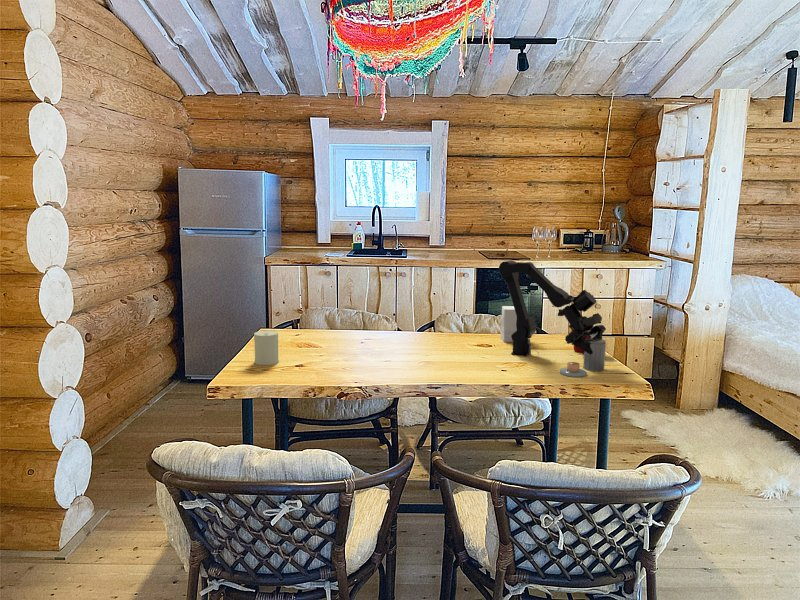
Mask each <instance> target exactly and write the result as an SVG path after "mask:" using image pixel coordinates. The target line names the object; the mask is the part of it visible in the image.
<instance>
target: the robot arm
mask: <svg viewBox="0 0 800 600" xmlns="http://www.w3.org/2000/svg"><path fill="white" fill-rule="evenodd" d="M498 271H499V274H500V276H501V278H502V280H504V282H505V283H506V285H507V288H508V292H509V294H510V298H511V301H512V306H514V309H515V312H516V316H517V321H516V328H517V331H516V332H514V333H513V334H512V335H511V337H512V340H513V342H512V352H511V353H510V355H515V356H522V357H527V356H529V355H531V352H532V343H531V338H532V337H533V335H534V334H536V332H537V327H538V325H537V323H536V319H535V316H530V314H529V312H528V309H527V306H526V302H525V299H524V296H523V292H522V289H521V286H520V283H519V276H520V273H524V274H526V275H527V276H528V277H529V278H530V279H531V280H532V281H533V282H534V283H535V284H536V285H537V286H538V287H539V288H540V289H541V290H542V291H543V293H545V295H546V297H547V300H549V302H550V304H552V306H553V307H555V308H559V309H558V313H557V317H565V319H566V320H567V322H568V328H569V329H571V328H573V330H572V331H570V332H569V333H568V334H567V335H566V336H565V337H564V338H565V339H564V340H565V342H566V343H567V344H568V345H569V344H571V345H572V346H574V345H575V346H577V347H578V348H580V349H582V350H584V351H585V352H587V353H588V354H590V355H591V354H592V350H591V349H590V347H589V345H588V343H587V341H586V336H589V337H590V338H598V339H603V334H605V331H607V328H606V327H605V325H603V324H601V323H602V320H603V317H602V315H601V314H600V313H599V312H598V313H594V314H592V315H591V316H588V317H587V316H583V315H582V313H581V312H583V313H584V312H587V311H588V310H589V309H590V308H592V307H593V306H594V305H596V304H597V299H596V298H595V296H594V295H593V294H591V293H590V292H589V291H588V290H586V289H583V290H582V291H580V293H579V294H577V295H576V296H574V295H570V294H569V293H568V292H567V291H566V290H564V289H563V288H560V287H559V286H556V285H555V284H554V283H553V282H551V280H549V278H547V276H546V275H544V274H543V273H542V271H540V269H538V267H536V266H535V265H534V263H533V262H531V261H526V262H525V261H524V262H521V261H520V262H516V261H514V260H504V261H502V262H501V263H500V264H499V266H498ZM562 307H563V308H562ZM560 308H562V309H560ZM569 324H570V325H569ZM595 324H596V326H595V327H594V326H593V325H595ZM597 324H598V325H597ZM591 328H592V329H591Z"/></svg>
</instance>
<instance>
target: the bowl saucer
mask: <svg viewBox="0 0 800 600" xmlns="http://www.w3.org/2000/svg"><path fill="white" fill-rule="evenodd" d="M559 374H560V375H562V376H565V377H571V378H583V377H586V376H587V370H585V369H582V368H580V363H579V362H576V361H568V362H566V367H563V368H560V369H559Z"/></svg>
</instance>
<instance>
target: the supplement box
mask: <svg viewBox="0 0 800 600" xmlns="http://www.w3.org/2000/svg"><path fill="white" fill-rule="evenodd" d="M516 321H517V316H516V312H515V309H514V305H512V306H511V305H501V325H500V326H501V327H500V339H501V340H502V341H503V342H504V343H513V340H512V337H511V335H512V334H513V333H514V332H516V331H517V328H516Z"/></svg>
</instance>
